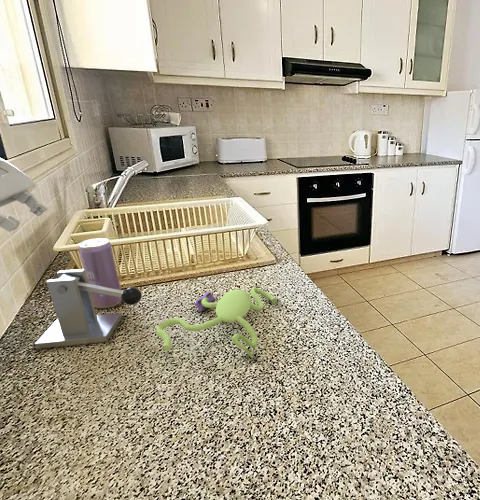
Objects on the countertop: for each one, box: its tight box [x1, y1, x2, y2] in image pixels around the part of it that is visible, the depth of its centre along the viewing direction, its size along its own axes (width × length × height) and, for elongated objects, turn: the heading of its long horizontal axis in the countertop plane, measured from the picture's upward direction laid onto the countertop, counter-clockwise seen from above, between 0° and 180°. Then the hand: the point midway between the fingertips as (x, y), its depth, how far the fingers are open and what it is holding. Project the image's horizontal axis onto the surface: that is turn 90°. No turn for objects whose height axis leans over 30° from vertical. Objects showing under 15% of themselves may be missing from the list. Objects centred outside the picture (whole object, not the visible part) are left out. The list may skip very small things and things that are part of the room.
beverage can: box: [78, 237, 123, 309], centre depth 84 cm, size 6×6×15 cm
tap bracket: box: [34, 268, 123, 350], centre depth 73 cm, size 12×9×13 cm
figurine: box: [155, 287, 278, 359], centre depth 78 cm, size 18×27×6 cm
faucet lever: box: [58, 274, 143, 306], centre depth 73 cm, size 14×4×4 cm, turn 104°
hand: (30, 219), depth 67 cm, fingers open, 8 cm apart
